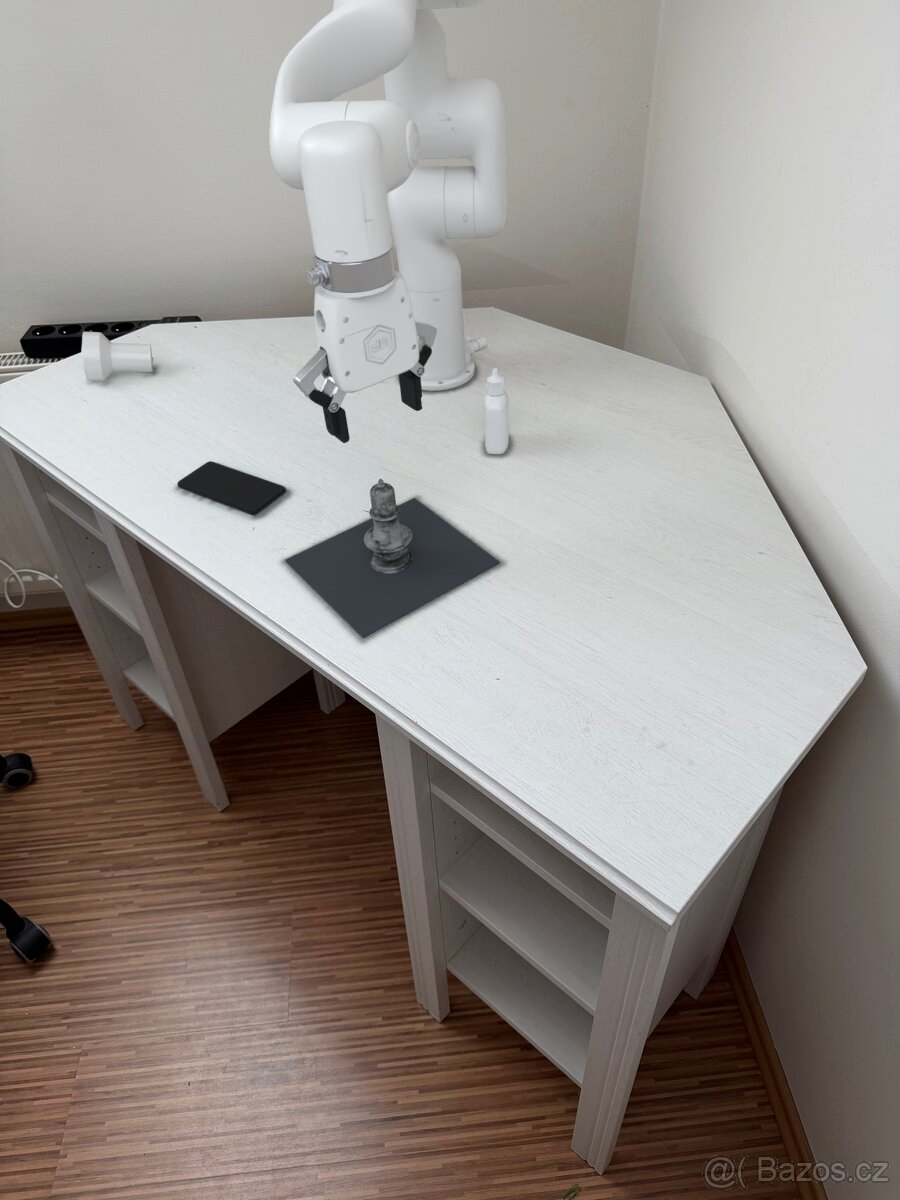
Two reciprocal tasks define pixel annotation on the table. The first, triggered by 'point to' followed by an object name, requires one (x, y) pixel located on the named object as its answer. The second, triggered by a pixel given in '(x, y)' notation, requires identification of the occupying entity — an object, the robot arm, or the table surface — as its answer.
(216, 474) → the smartphone
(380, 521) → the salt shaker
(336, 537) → the mat
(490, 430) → the eye dropper bottle
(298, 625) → the table surface
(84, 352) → the spotlight
